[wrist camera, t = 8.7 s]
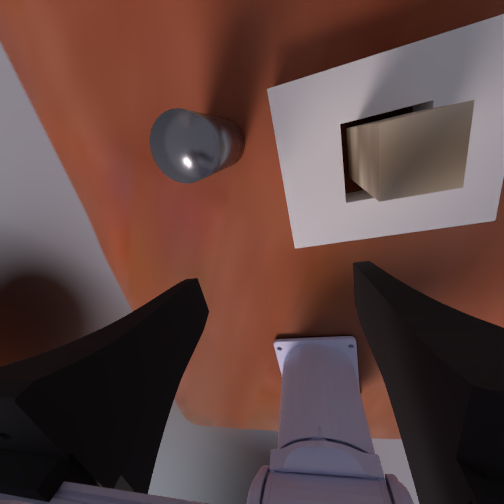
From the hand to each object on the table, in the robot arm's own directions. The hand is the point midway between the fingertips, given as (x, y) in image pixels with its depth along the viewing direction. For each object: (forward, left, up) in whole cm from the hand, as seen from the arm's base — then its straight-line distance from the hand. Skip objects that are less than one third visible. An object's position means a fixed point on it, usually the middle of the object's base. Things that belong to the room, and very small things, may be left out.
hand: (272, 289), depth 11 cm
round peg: (+7, +3, -9) cm, 12 cm away
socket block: (+4, -7, -9) cm, 12 cm away
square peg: (+4, -7, -9) cm, 12 cm away
